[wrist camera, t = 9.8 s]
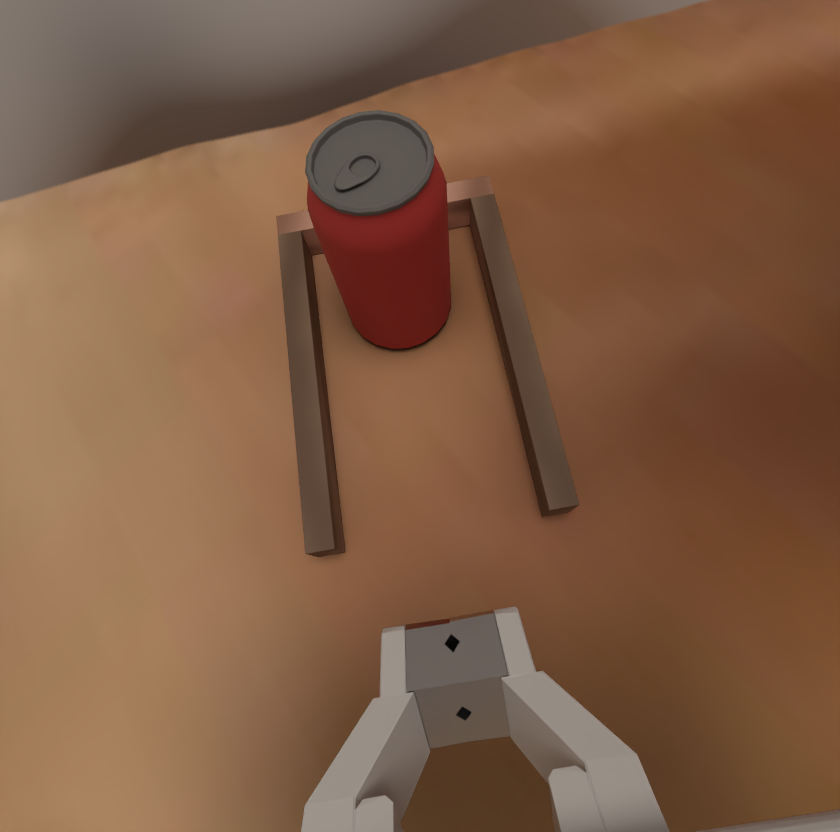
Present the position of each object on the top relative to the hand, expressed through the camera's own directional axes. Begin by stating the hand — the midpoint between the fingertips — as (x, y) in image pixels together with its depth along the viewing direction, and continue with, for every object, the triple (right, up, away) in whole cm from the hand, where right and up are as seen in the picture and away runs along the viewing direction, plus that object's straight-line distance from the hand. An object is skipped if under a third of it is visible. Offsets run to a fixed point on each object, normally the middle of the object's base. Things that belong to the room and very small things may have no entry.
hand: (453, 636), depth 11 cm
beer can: (-2, +12, +22) cm, 25 cm away
